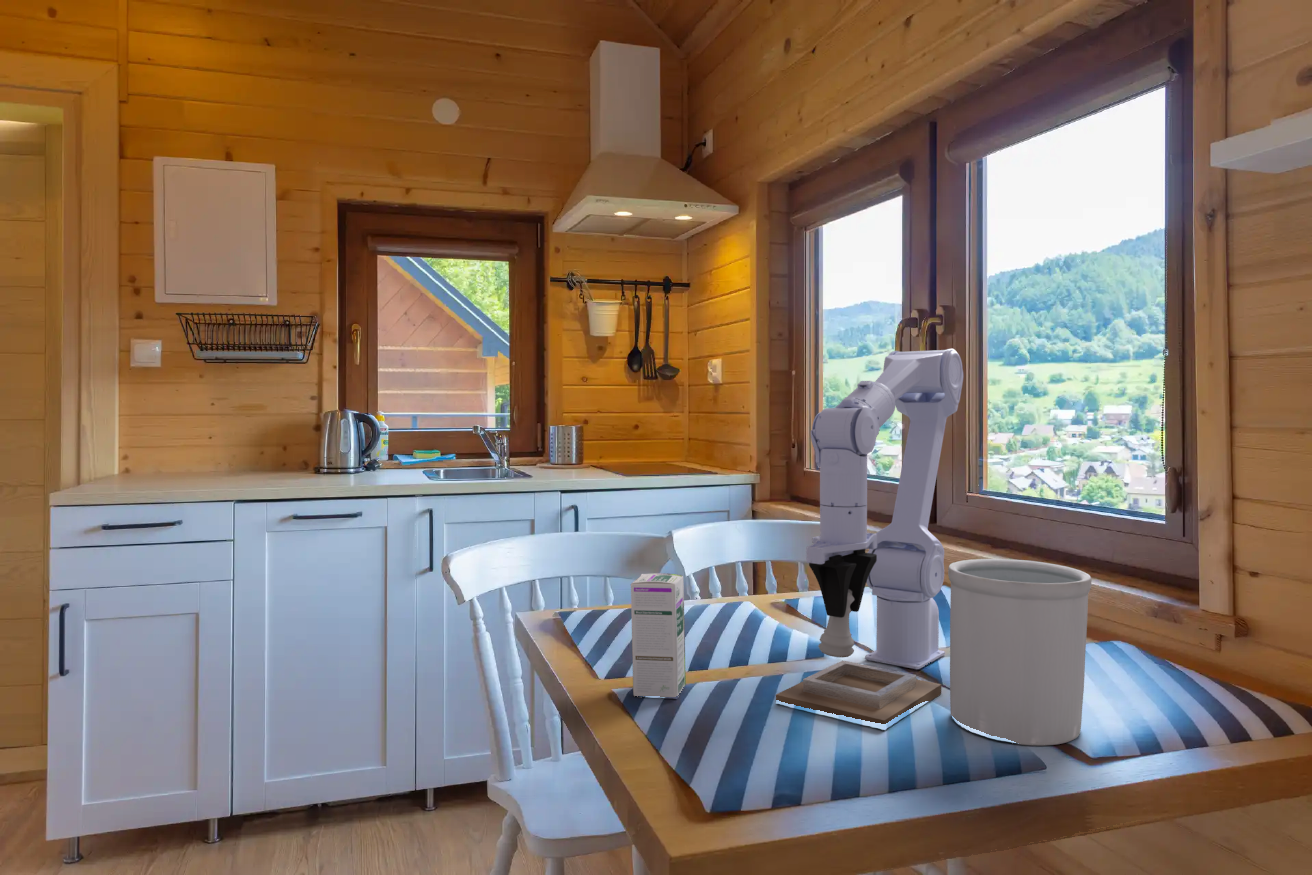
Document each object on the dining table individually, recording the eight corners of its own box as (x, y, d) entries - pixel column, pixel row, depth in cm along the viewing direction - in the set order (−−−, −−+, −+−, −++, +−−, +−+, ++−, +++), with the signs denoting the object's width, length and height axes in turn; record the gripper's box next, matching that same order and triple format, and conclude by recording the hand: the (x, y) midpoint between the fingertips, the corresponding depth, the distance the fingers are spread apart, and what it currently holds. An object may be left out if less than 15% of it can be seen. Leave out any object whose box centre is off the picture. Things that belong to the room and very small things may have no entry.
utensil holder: (1033, 697, 111) (1034, 555, 110) (1119, 742, 96) (1122, 578, 95) (922, 706, 108) (923, 560, 107) (995, 754, 93) (997, 586, 92)
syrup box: (678, 700, 110) (677, 582, 110) (631, 697, 111) (630, 580, 111) (686, 685, 116) (685, 573, 115) (641, 683, 117) (640, 571, 116)
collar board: (839, 672, 121) (839, 652, 121) (941, 693, 112) (941, 672, 112) (775, 704, 109) (775, 682, 108) (884, 730, 100) (884, 706, 100)
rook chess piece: (858, 650, 114) (864, 589, 113) (848, 661, 111) (854, 597, 110) (824, 642, 117) (830, 582, 116) (813, 652, 113) (819, 590, 112)
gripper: (842, 497, 120) (842, 598, 121) (784, 507, 109) (784, 619, 110) (892, 500, 116) (891, 606, 116) (836, 512, 104) (836, 628, 105)
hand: (843, 613), depth 113 cm, fingers closed on rook chess piece, 3 cm apart
